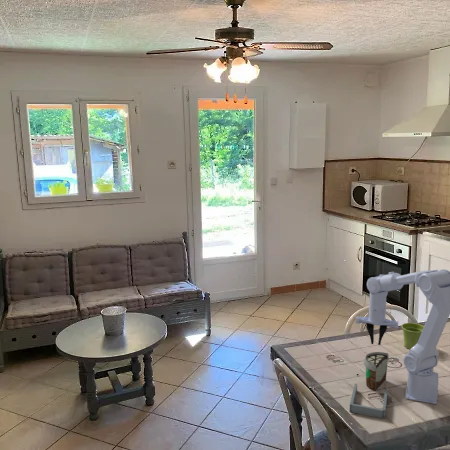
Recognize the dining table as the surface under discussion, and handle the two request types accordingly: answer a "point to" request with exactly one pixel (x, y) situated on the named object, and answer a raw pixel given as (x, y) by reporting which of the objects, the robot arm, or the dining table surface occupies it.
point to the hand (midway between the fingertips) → (375, 343)
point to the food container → (376, 369)
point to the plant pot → (411, 334)
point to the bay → (367, 410)
